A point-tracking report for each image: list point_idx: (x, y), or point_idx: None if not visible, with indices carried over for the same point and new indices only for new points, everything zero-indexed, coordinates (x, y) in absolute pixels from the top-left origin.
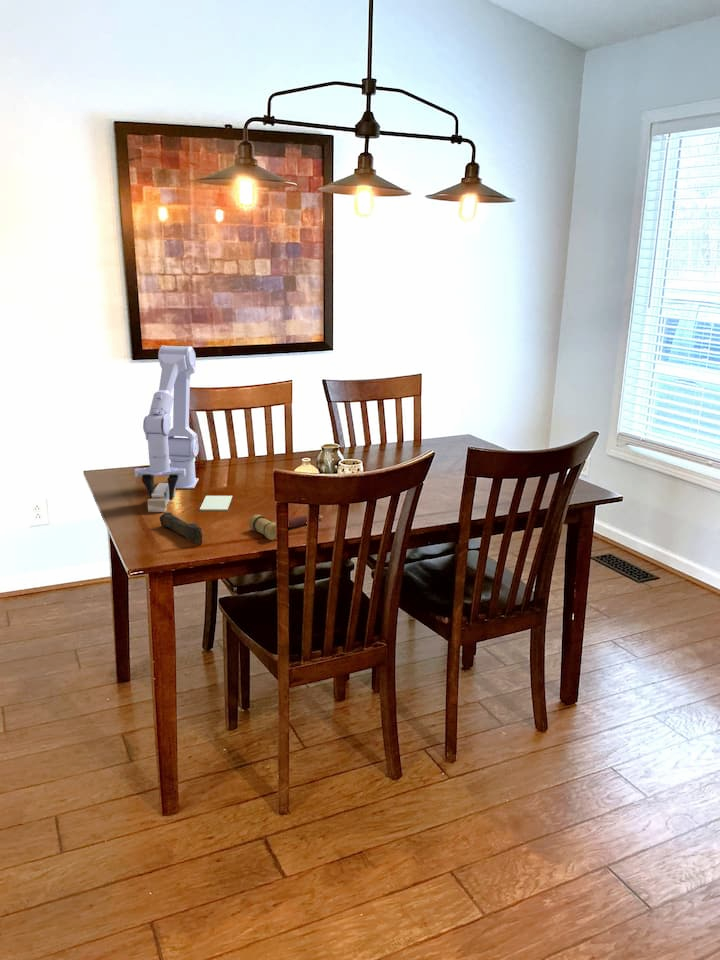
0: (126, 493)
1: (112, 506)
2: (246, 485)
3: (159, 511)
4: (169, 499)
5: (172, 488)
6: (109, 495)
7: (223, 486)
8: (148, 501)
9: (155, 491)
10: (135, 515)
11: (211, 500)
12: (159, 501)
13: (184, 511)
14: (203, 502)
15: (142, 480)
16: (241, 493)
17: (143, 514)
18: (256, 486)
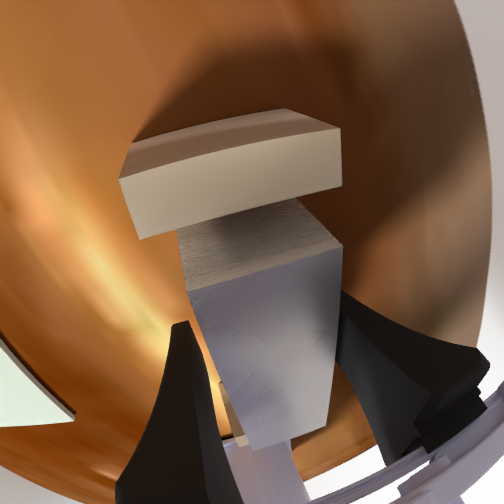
0: (427, 328)
1: (476, 179)
2: (53, 475)
3: (187, 129)
4: (188, 323)
5: (158, 409)
6: (472, 289)
7: (104, 470)
8: (322, 126)
9: (314, 316)
10: (351, 26)
11: (3, 385)
12: (189, 153)
13: (3, 209)
14: (8, 360)
15: (483, 357)
16: (4, 442)
17: (301, 48)
18: (25, 471)
